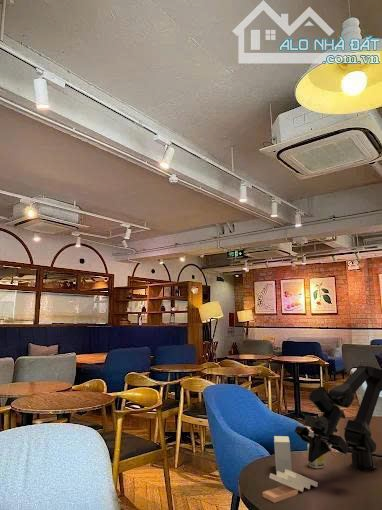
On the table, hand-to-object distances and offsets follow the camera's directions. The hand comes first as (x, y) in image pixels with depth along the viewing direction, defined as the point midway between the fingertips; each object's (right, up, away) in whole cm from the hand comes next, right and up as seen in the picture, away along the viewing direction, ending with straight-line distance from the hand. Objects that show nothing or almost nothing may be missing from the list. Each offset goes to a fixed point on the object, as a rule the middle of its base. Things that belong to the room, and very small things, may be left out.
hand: (309, 461), depth 126 cm
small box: (-6, -10, +12) cm, 17 cm away
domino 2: (-7, -6, -6) cm, 11 cm away
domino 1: (-5, -6, -4) cm, 9 cm away
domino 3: (-3, -6, -3) cm, 7 cm away
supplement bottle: (+7, -10, +15) cm, 20 cm away
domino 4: (0, -6, -1) cm, 6 cm away
